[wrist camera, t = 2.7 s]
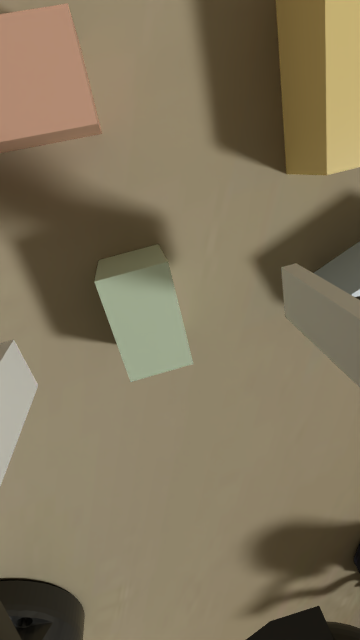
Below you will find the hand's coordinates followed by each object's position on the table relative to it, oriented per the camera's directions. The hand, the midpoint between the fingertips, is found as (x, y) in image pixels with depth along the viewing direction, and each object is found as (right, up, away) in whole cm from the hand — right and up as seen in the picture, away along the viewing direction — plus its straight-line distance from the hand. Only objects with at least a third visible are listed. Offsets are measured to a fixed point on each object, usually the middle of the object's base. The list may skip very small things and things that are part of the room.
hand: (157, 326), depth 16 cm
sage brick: (-1, +2, +5) cm, 5 cm away
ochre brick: (+8, +13, +1) cm, 15 cm away
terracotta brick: (-6, +10, 0) cm, 12 cm away
